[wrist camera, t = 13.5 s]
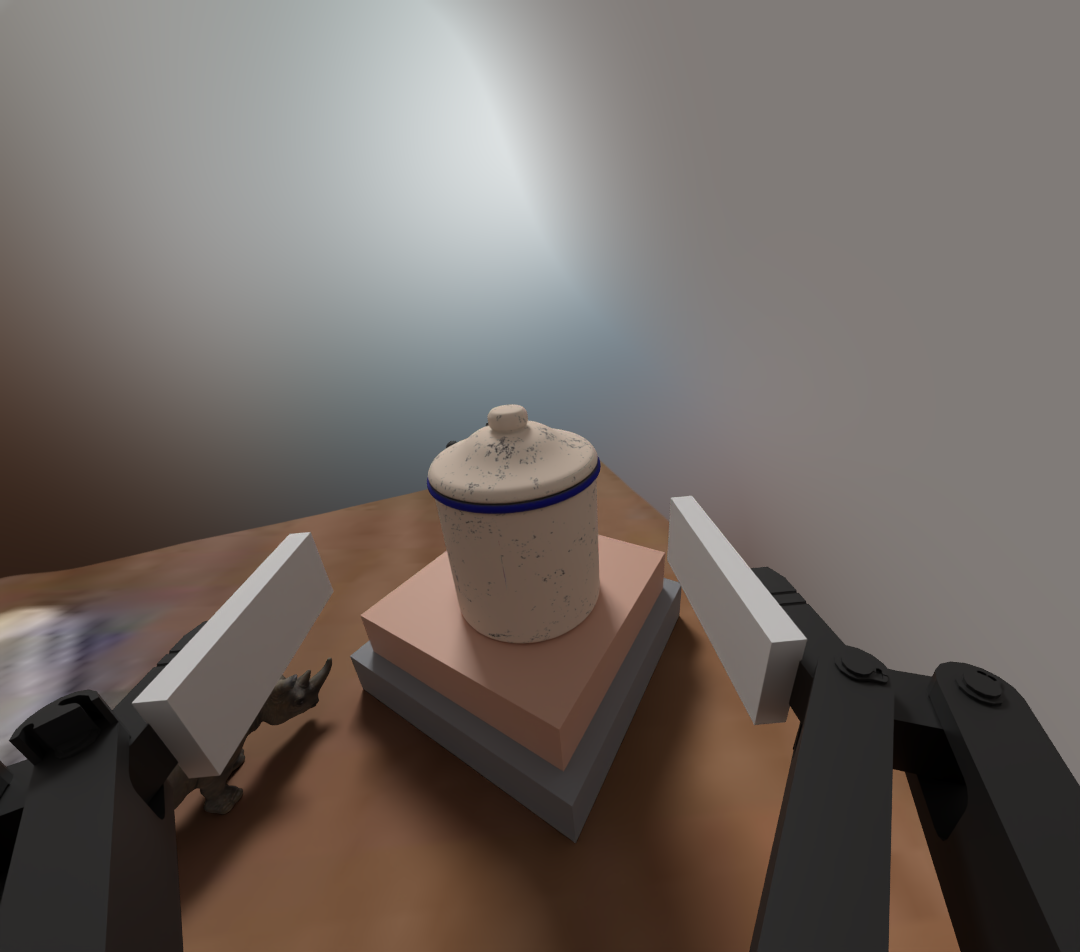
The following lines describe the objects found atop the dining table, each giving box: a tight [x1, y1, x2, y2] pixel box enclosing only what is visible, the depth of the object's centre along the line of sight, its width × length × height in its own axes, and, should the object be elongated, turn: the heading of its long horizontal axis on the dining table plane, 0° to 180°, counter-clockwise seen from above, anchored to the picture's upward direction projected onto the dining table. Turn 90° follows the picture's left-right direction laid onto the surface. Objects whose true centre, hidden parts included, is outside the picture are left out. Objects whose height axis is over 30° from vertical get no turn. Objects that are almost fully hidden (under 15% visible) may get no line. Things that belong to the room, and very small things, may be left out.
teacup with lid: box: [427, 405, 601, 643], centre depth 24 cm, size 12×9×12 cm
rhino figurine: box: [167, 658, 332, 814], centre depth 21 cm, size 4×14×6 cm, turn 139°
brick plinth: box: [350, 535, 681, 843], centre depth 27 cm, size 16×16×6 cm
